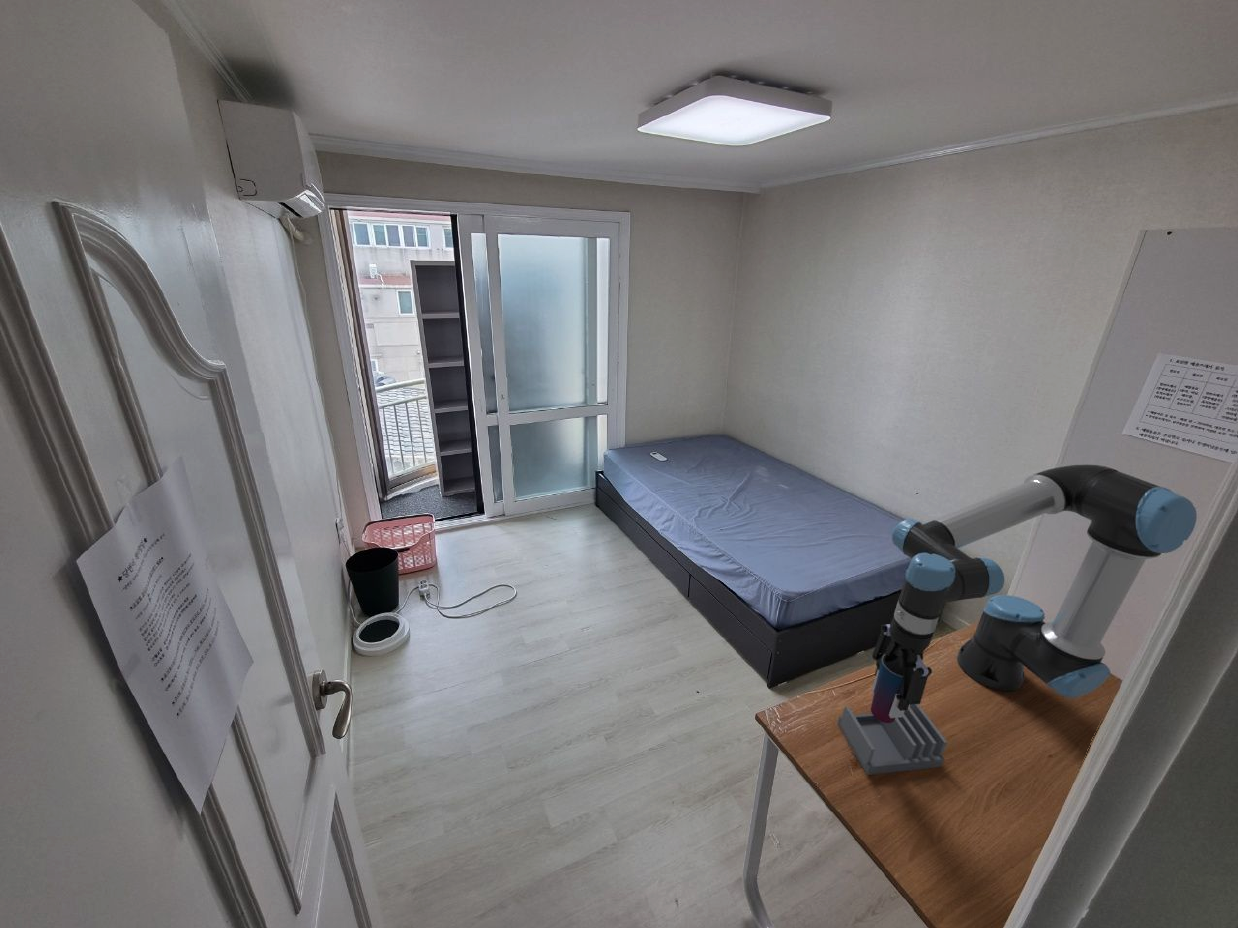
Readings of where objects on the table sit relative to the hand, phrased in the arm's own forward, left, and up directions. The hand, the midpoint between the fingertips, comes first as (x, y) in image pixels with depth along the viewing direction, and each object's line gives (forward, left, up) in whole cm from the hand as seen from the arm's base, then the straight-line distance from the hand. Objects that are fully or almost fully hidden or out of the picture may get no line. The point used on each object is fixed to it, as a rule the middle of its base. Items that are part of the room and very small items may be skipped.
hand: (886, 702), depth 112 cm
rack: (-4, 0, -14) cm, 15 cm away
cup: (0, 0, -4) cm, 4 cm away
